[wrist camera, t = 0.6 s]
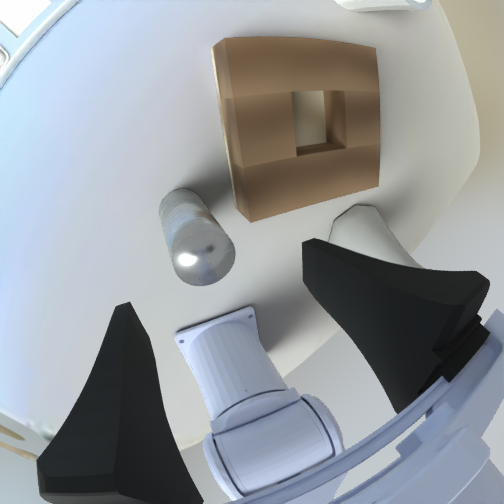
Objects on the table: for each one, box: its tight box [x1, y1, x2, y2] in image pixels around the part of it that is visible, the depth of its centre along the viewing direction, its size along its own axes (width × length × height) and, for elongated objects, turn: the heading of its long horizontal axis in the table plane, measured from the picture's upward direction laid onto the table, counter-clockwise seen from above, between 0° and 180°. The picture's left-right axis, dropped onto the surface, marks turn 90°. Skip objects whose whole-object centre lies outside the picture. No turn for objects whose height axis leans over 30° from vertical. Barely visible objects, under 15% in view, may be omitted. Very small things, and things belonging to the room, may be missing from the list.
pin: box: [159, 189, 235, 286], centre depth 16 cm, size 3×3×7 cm
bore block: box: [211, 37, 380, 223], centre depth 18 cm, size 12×12×3 cm
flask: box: [328, 205, 432, 270], centre depth 24 cm, size 7×7×10 cm
